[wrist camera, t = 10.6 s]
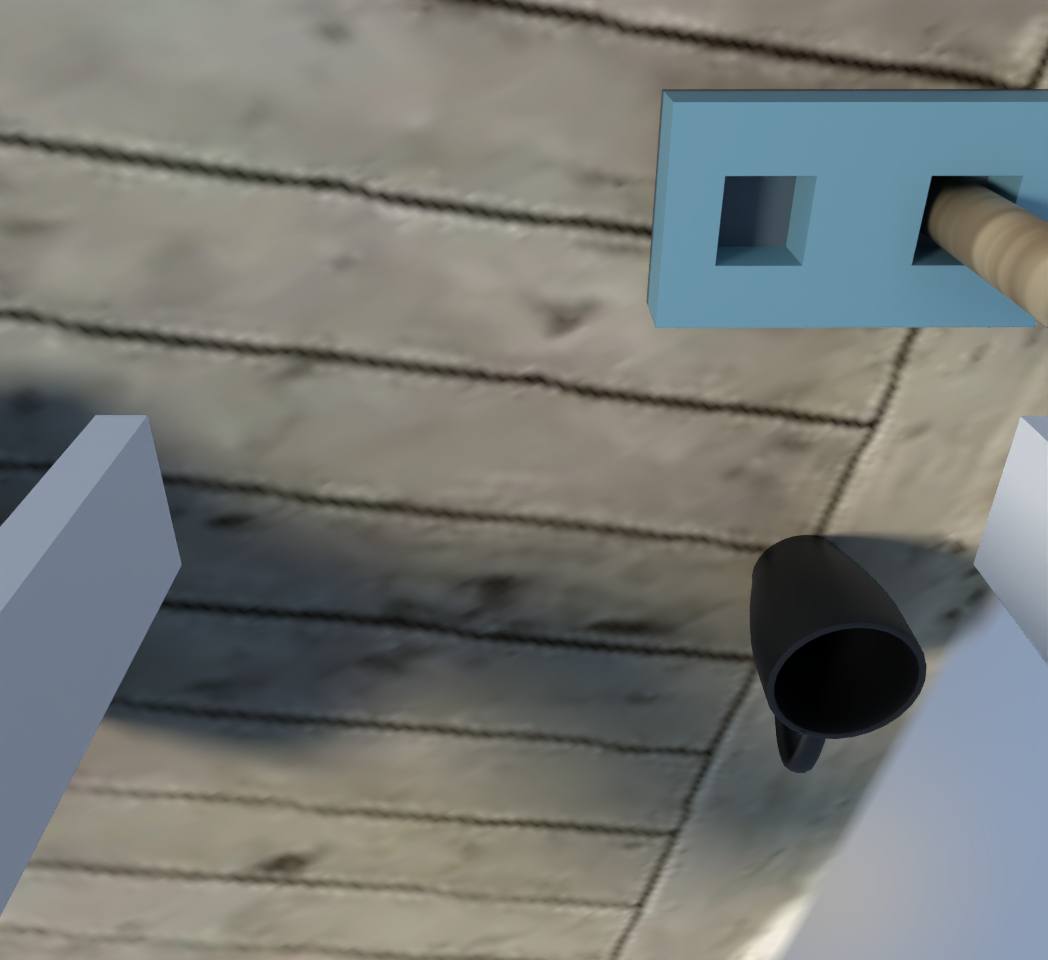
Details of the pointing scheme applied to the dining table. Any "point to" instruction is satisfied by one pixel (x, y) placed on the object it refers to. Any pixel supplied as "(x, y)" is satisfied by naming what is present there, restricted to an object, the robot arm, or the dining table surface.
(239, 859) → the dining table surface
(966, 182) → the dowel
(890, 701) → the mug
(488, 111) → the dining table surface
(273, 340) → the dining table surface
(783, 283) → the bore slab
